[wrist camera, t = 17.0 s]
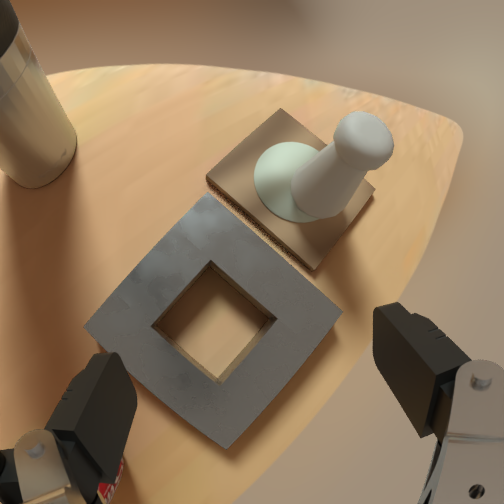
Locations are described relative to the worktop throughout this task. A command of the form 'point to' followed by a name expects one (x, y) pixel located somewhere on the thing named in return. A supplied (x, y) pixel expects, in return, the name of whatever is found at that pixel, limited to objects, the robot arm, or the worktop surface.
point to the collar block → (245, 282)
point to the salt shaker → (341, 165)
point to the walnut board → (282, 187)
